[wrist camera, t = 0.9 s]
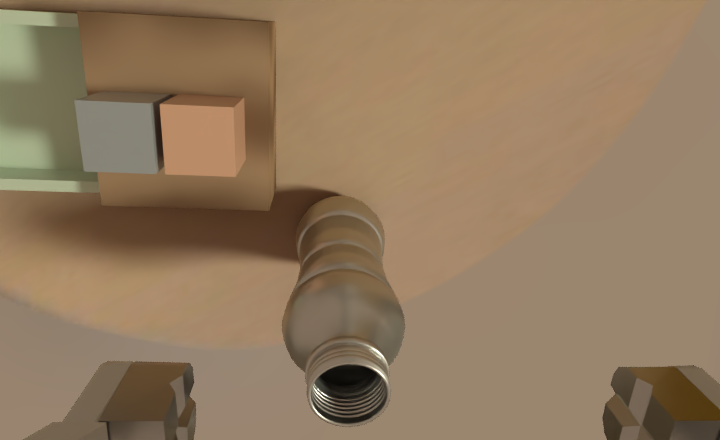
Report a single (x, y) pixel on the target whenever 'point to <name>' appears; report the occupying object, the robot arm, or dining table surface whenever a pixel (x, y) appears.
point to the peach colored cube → (203, 135)
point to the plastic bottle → (343, 312)
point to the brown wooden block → (188, 77)
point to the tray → (41, 103)
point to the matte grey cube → (121, 132)
